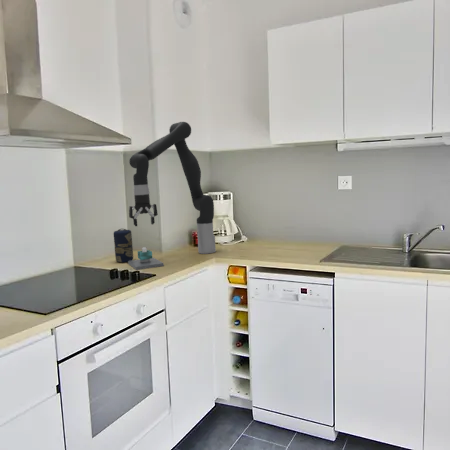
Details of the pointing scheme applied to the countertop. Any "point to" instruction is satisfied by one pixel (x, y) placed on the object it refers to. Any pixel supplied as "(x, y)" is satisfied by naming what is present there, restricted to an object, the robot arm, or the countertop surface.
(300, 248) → the countertop surface
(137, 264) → the shaft stand
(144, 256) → the collar
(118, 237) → the canister
